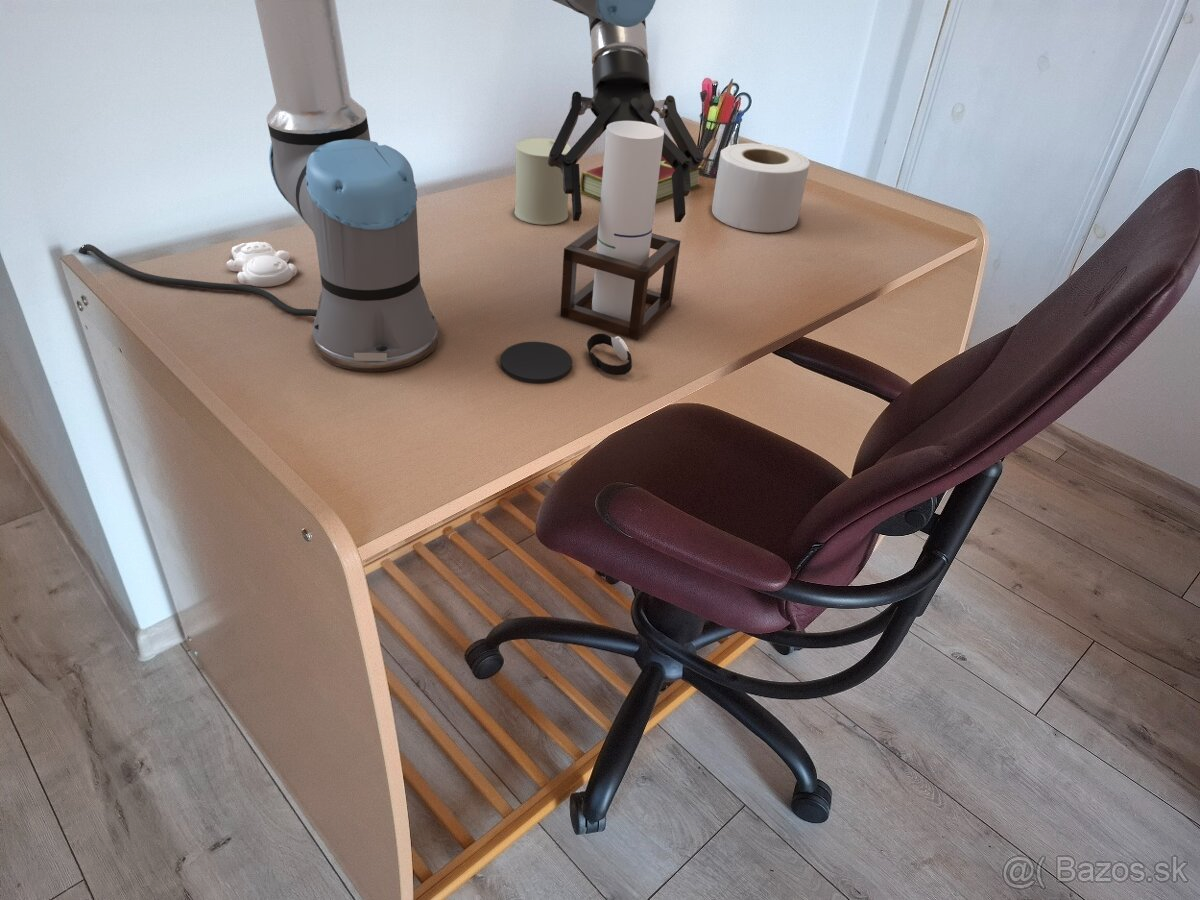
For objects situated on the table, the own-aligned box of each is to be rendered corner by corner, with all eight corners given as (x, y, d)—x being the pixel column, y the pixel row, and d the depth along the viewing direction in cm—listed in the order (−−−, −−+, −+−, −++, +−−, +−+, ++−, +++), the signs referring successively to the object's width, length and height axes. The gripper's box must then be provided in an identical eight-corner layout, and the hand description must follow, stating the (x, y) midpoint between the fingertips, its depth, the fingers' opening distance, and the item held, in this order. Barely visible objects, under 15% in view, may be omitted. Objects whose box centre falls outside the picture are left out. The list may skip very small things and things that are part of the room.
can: (578, 214, 145) (583, 144, 137) (547, 229, 138) (550, 157, 131) (535, 200, 148) (537, 131, 141) (503, 214, 142) (504, 143, 135)
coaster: (486, 369, 103) (486, 364, 103) (523, 338, 110) (523, 334, 109) (549, 391, 100) (550, 387, 100) (584, 358, 107) (584, 354, 106)
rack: (560, 316, 115) (563, 248, 109) (598, 284, 124) (603, 219, 118) (637, 340, 112) (645, 271, 105) (671, 306, 120) (680, 240, 114)
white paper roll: (694, 213, 149) (703, 152, 143) (741, 193, 159) (752, 136, 153) (768, 241, 142) (781, 178, 135) (812, 218, 152) (827, 159, 145)
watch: (640, 374, 105) (643, 349, 103) (609, 382, 103) (612, 357, 100) (607, 345, 110) (609, 321, 108) (577, 353, 108) (578, 328, 105)
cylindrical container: (637, 327, 114) (659, 142, 99) (586, 318, 115) (601, 133, 100) (645, 303, 120) (668, 125, 105) (597, 295, 121) (612, 117, 106)
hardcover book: (579, 192, 153) (581, 169, 151) (651, 169, 166) (653, 147, 164) (629, 212, 147) (632, 189, 145) (699, 186, 160) (702, 165, 158)
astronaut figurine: (285, 248, 125) (282, 229, 123) (301, 282, 117) (298, 262, 115) (222, 255, 122) (218, 236, 120) (235, 291, 113) (231, 271, 112)
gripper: (702, 83, 116) (713, 229, 114) (523, 76, 112) (530, 227, 110) (719, 51, 109) (730, 207, 106) (528, 42, 105) (535, 203, 102)
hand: (629, 217), depth 108 cm, fingers open, 13 cm apart
